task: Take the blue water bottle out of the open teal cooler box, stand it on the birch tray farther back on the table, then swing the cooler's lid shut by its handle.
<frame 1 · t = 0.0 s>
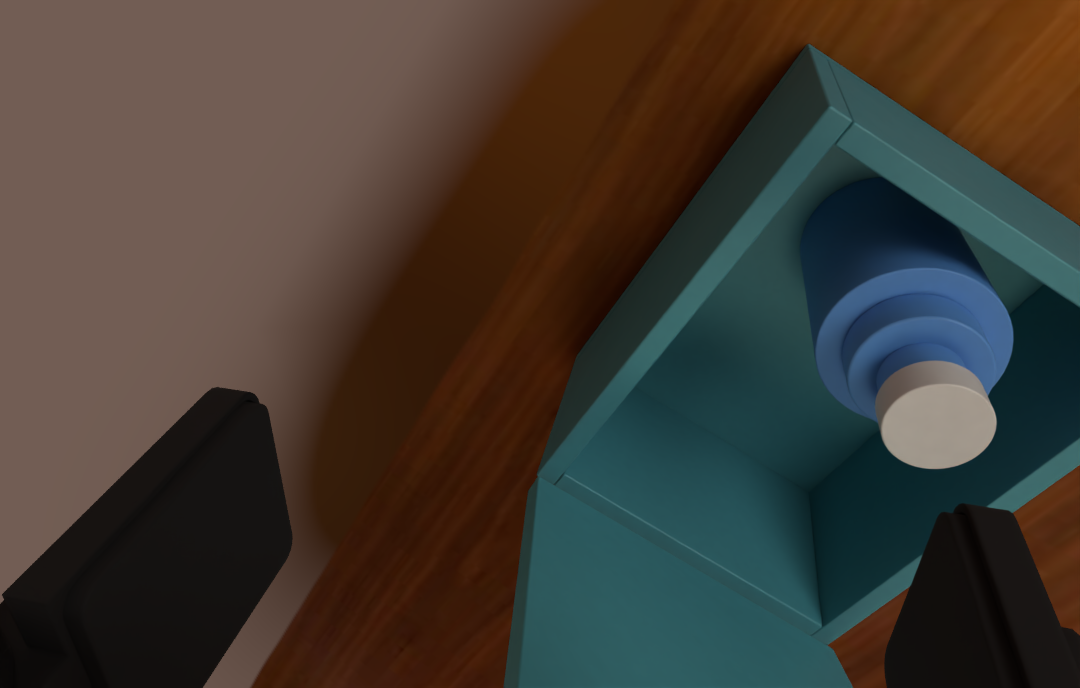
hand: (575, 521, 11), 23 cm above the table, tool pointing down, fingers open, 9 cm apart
bottle: (875, 245, 31), point 1 cm above the table, touching cooler
cooler: (809, 305, 34), on the table
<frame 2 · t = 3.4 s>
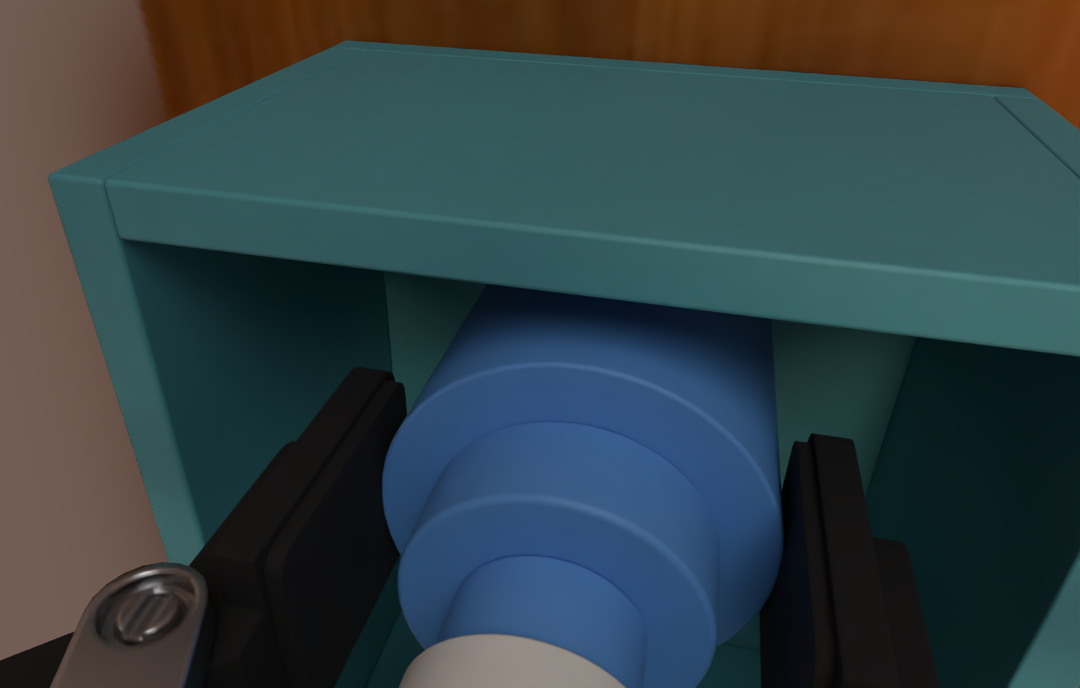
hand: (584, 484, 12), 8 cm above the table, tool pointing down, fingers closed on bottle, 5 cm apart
bottle: (637, 280, 18), point 1 cm above the table, touching cooler, gripper
cooler: (627, 398, 20), on the table
when the fingers open (7 cm above the table, at t = 11.3 s): bottle stays where it is, resting on tray.
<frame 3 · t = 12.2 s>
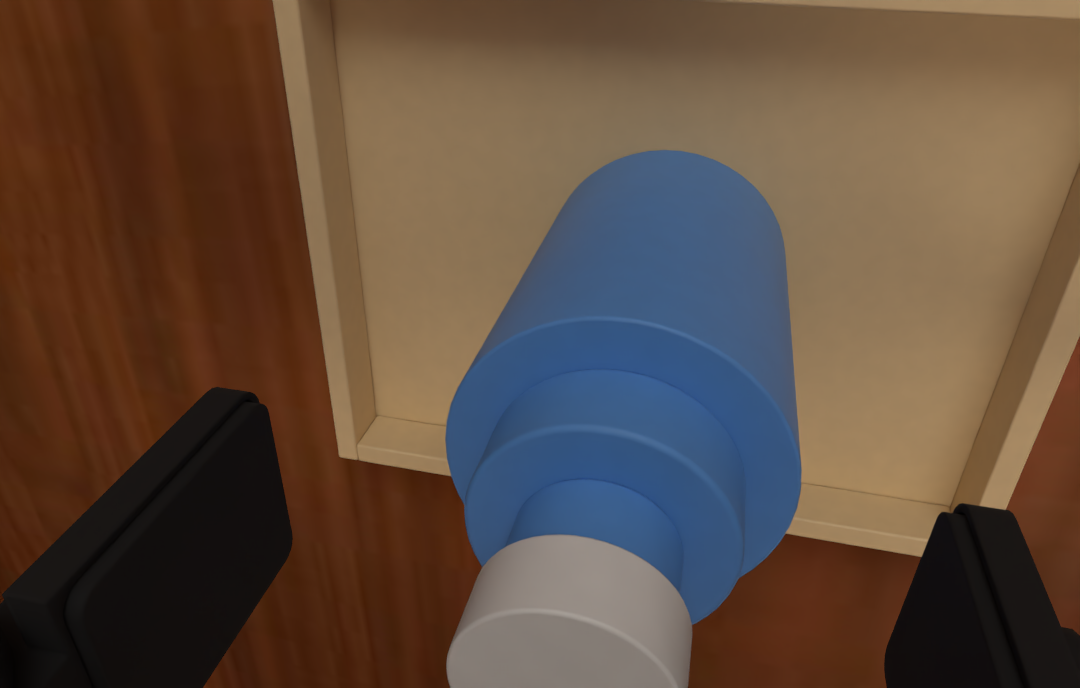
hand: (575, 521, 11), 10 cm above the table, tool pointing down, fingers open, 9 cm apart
bottle: (664, 263, 19), point 1 cm above the table, touching tray
tray: (667, 251, 20), on the table
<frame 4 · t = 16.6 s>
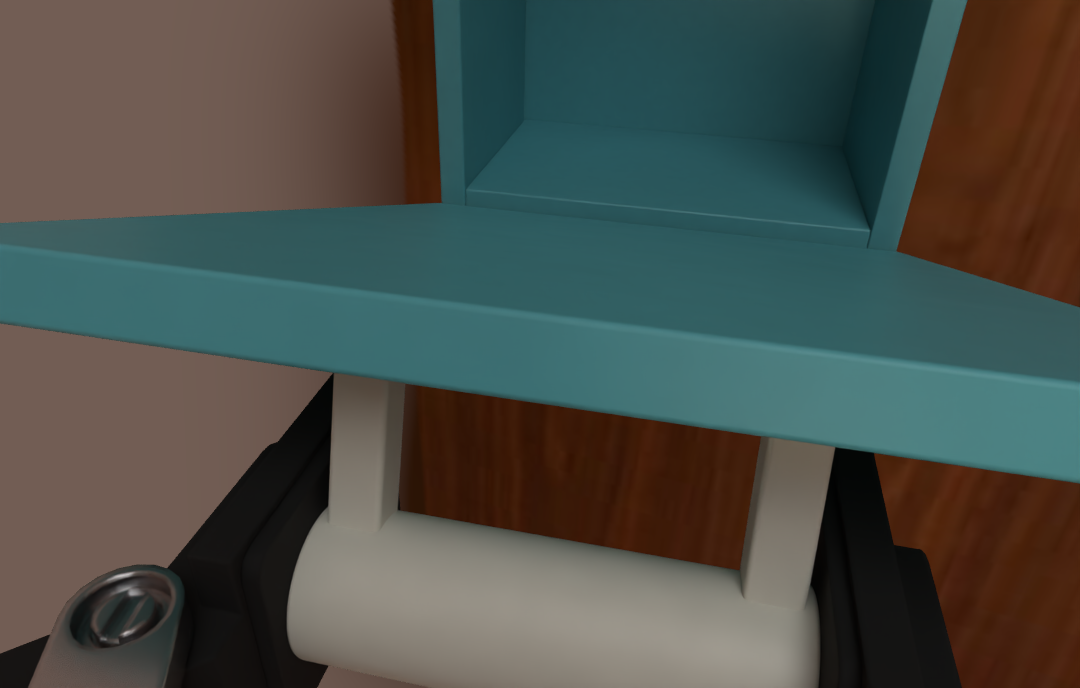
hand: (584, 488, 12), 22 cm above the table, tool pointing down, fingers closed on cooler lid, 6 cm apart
cooler lid: (617, 377, 16), point 18 cm above the table, hinge at 70.0°, touching gripper
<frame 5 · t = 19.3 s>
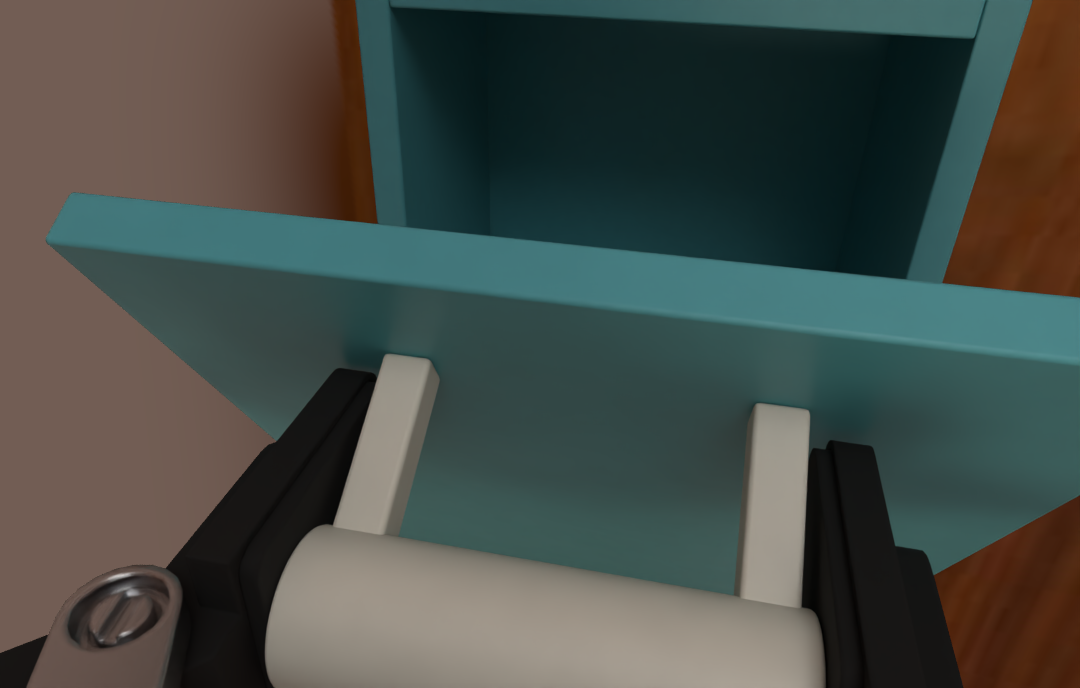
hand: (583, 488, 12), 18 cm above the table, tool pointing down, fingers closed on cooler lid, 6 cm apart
cooler: (662, 206, 28), on the table
cooler lid: (587, 599, 16), point 16 cm above the table, hinge at 31.8°, touching gripper
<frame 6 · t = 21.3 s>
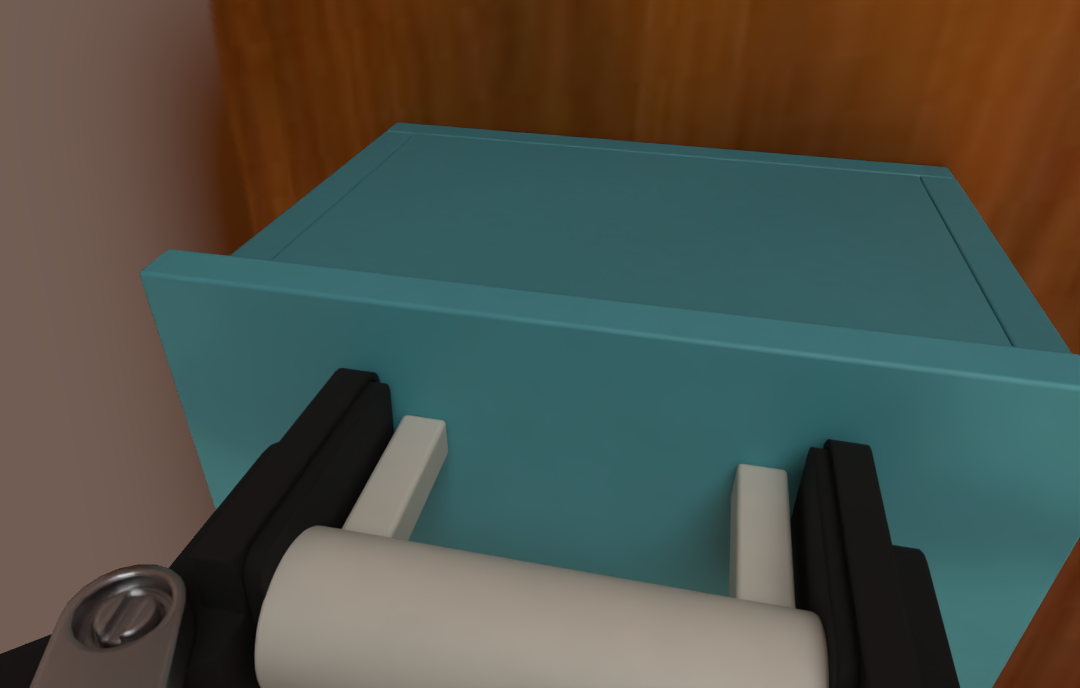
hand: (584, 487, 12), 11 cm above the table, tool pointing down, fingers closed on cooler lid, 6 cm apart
cooler: (630, 411, 24), on the table
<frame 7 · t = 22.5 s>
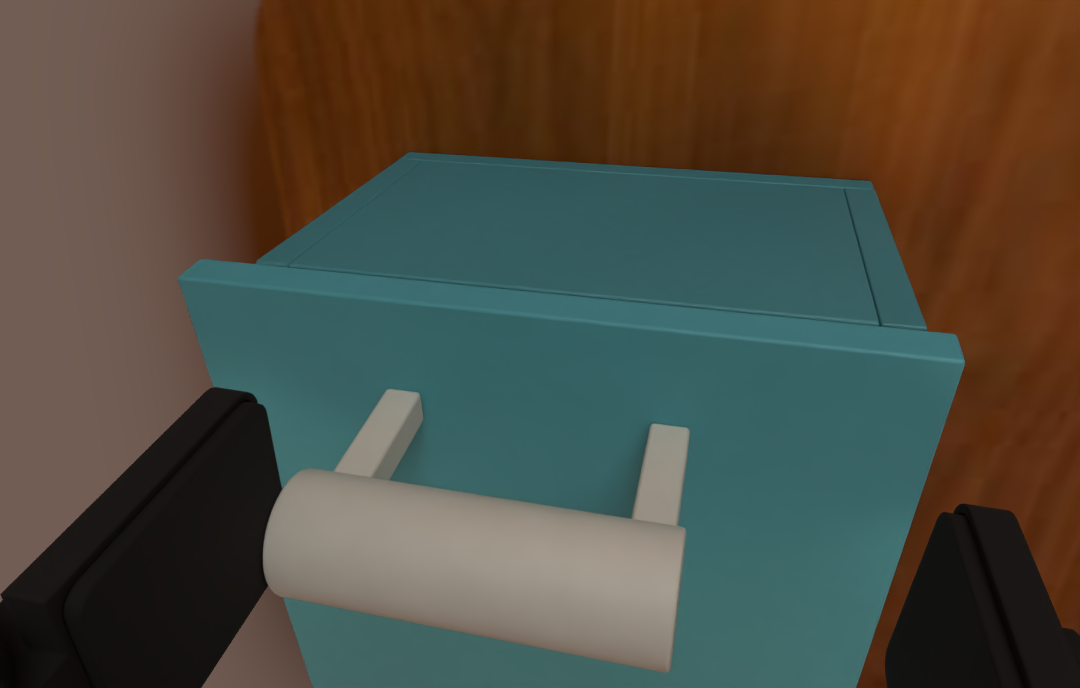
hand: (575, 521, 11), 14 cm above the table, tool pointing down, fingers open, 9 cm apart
cooler: (614, 402, 27), on the table
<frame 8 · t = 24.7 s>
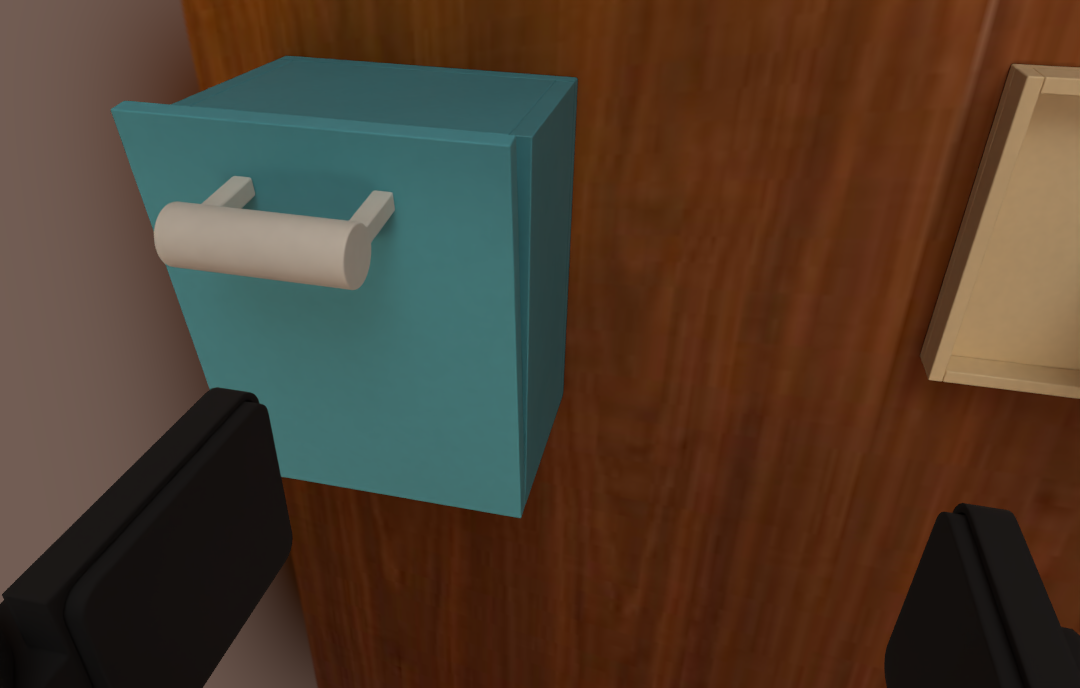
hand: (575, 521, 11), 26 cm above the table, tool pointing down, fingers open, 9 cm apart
cooler: (435, 238, 39), on the table
cooler lid: (324, 372, 29), point 13 cm above the table, hinge at 7.2°
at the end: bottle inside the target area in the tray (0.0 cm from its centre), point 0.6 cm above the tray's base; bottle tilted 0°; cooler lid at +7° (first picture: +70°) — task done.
